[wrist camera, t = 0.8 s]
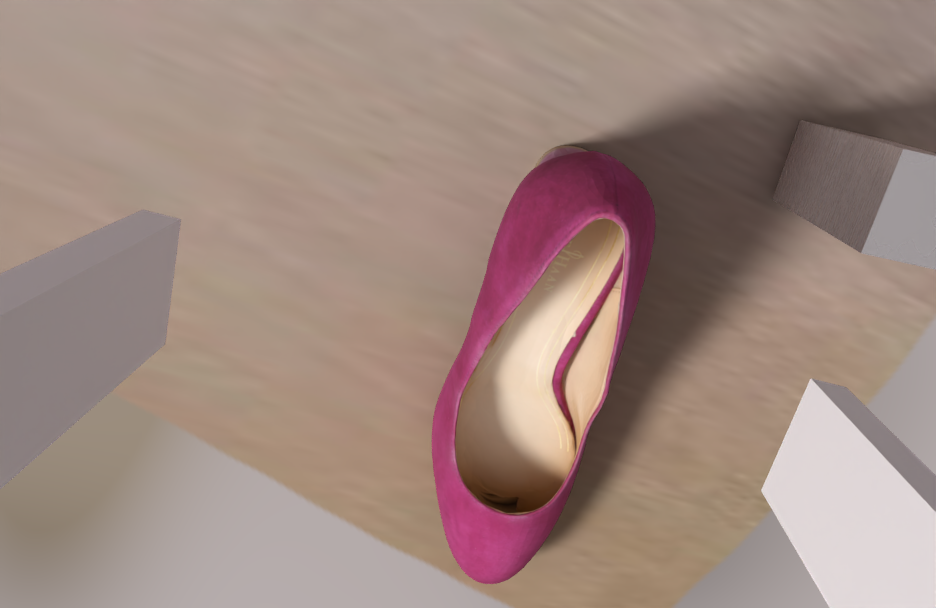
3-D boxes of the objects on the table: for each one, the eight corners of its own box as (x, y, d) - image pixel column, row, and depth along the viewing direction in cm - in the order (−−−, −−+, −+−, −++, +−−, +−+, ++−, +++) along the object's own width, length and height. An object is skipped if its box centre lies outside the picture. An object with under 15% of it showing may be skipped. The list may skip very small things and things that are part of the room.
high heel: (533, 566, 46) (544, 744, 35) (397, 531, 46) (362, 698, 34) (687, 163, 38) (770, 219, 26) (522, 114, 37) (532, 149, 26)
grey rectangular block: (800, 119, 37) (903, 149, 27) (879, 137, 37) (1009, 172, 27) (771, 199, 38) (861, 253, 29) (848, 216, 38) (962, 275, 29)
